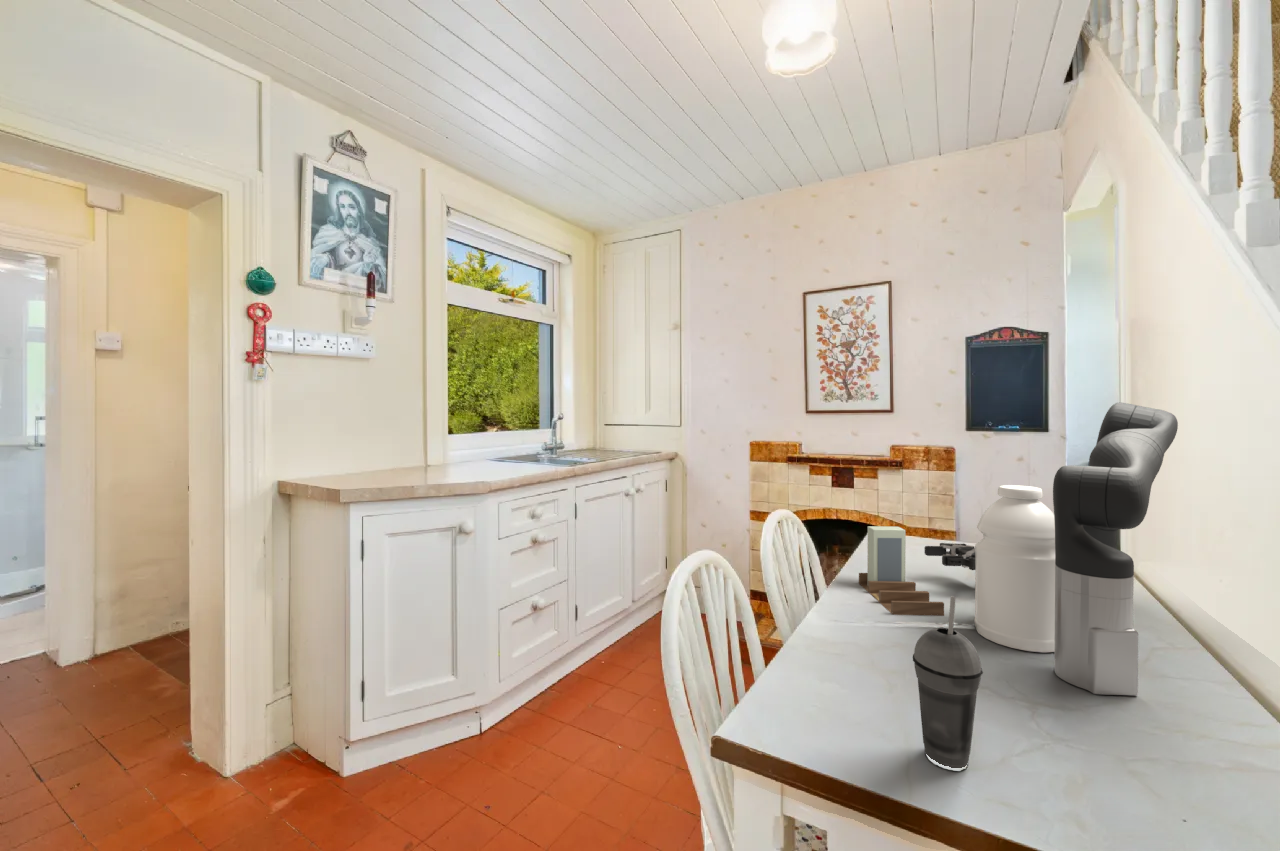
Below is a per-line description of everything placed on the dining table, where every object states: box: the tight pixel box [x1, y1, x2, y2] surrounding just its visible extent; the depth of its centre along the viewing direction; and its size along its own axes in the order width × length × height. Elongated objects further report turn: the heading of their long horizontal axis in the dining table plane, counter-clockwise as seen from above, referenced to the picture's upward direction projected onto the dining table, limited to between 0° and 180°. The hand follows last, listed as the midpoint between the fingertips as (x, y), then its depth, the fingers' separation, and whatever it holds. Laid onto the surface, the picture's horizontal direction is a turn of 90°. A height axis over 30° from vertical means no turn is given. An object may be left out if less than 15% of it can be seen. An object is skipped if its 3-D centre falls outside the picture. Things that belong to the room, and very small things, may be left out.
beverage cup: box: [912, 595, 984, 768], centre depth 63 cm, size 7×7×20 cm
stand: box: [858, 572, 945, 617], centre depth 116 cm, size 20×10×4 cm, turn 176°
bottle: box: [973, 484, 1056, 653], centre depth 98 cm, size 14×14×28 cm
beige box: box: [866, 525, 907, 585], centre depth 122 cm, size 4×7×14 cm, turn 86°
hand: (933, 555), depth 122 cm, fingers open, 8 cm apart
